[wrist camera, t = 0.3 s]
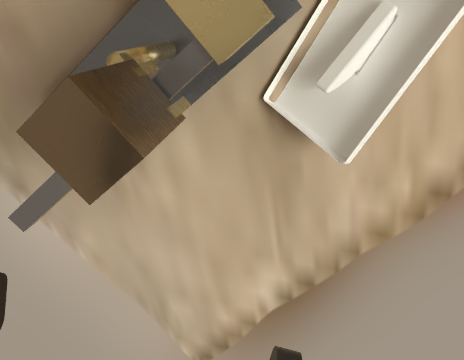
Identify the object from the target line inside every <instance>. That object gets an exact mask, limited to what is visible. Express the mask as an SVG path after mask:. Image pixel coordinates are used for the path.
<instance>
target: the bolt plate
mask: <svg viewBox="0 0 464 360" xmlns="http://www.w3.org/2000/svg"><path fill="white" fill-rule="evenodd" d="M263 1H264V3H265V4H266V5H267V7H268V8H269V9H270V11H271V12H272V13H273V15H274V16H275V17H274V18H273V19H272V20H271V21H270V22H269V23H268V24H266V25H265V26H264V27H263V28H262V29H261V30H260V31H259V32H258V33H256V34H255V35H254V36H253V37H252V38H251V39H250V40H249V41H248V42H246V43H245V44H244V45H243V46H242V47H241V48H240V49H239V50H238V51H236V52H235V53H234V54H233V55H232V56H231V57H230V58H229V59H227V60H226V61H224V62H223V63H221V64H220V65H218V64H217V63H216V61H215V60H213V61H212V62H211V63H210V64H209V65H208V66H207V67H205V68H204V69H203V70H202V71H201V72H200V73H199V74H198V75H197V76H196V77H194V78H193V79H192V80H191V81H190V82H189V83H188V84H187V85H186V86H185V87H184V88H182V89H181V90H180V91H179V92H178V93H177V94H176V95H175V96H174V97H173V98H171V99H170V101H171V102H172V103H175V102H176V101H178V100H179V99H180V98H182V97H183V96H184V97H185V98H186V100H187V101H188V102H189V103H190V104H191V105H192V104H193V103H194V102H195V101H196V100H197V99H199V98H200V97H201V96H202V95H203V94H204V93H205V92H207V91H208V90H209V89H210V88H211V87H212V86H213V85H214V84H216V83H217V82H218V81H219V80H220V79H221V78H222V77H224V76H225V75H226V74H227V73H228V72H229V71H230V70H231V69H233V68H234V67H235V66H236V65H237V64H238V63H239V62H241V61H242V60H243V59H244V58H245V57H246V56H247V55H248V54H250V53H251V52H252V51H253V50H254V49H255V48H256V47H258V46H259V45H260V44H261V43H262V42H263V41H264V40H265V39H267V38H268V37H269V36H270V35H271V34H272V33H273V32H275V31H276V30H277V29H278V28H279V27H280V26H281V25H282V24H284V23H285V22H286V21H287V20H288V19H289V18H290V17H292V16H293V15H294V14H295V13H296V12H297V11H298V10H299V9H301V8H302V7H301V5H300V4H299V3H298V1H297V0H263ZM195 38H196V37H195V36H194V35H193V33H192V32H191V31H190V30H189V29H188V27H187V26H186V25H185V24H184V22H183V21H182V20H181V19H180V18H179V16H178V15H177V14H176V13H175V12H174V10H173V9H172V8H171V7H170V6H169V4H168V3H167V2H166V1H165V0H139V1H138V2H137V3H136V4H135V5H134V6H133V7H132V8H131V10H130V11H129V12H128V13H127V14H126V15H125V16H124V17H123V18H122V19H121V20H120V21H119V22H118V24H117V25H116V26H115V27H114V28H113V29H112V30H111V31H110V32H109V33H108V34H107V35H106V37H105V38H104V39H103V40H102V41H101V42H100V43H99V44H98V45H97V46H96V47H95V48H94V49H93V51H92V52H91V53H90V54H89V55H88V56H87V57H86V58H85V59H84V60H83V61H82V62H81V63H80V65H79V66H78V67H77V68H76V69H75V70H74V71H73V72H72V73H71V74H70V75H69V76H71V75H74V74H78V73H82V72H86V71H89V70H93V69H97V68H101V67H105V66H107V64H106V61H107V57H108V56H109V55H110V54H111V53H113V52H117V51H122V50H127V49H132V48H137V47H142V46H147V45H152V44H157V43H162V42H171V43H173V44H174V46H175V48H176V54H175V56H174V57H173V58H171V59H168V60H165V61H162V62H160V63H157V64H156V65H157V66H158V67H159V68H160V69H159V70H158V71H157V72H156V73H155V74H154V75H153V76H152V77H151V79H153V78H154V77H155V76H156V75H157V74H158V73H159V72H160V71H161V70H163V69H164V68H165V67H166V66H167V65H168V64H169V63H170V62H171V61H172V60H173V59H174V58H175V57H176V56H177V55H178V54H179V53H180V52H181V51H182V50H183V49H184V48H185V47H187V46H188V45H189V44H190V43H191V42H192V41H193V40H194V39H195ZM189 107H190V106H189Z"/></svg>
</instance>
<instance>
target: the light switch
mask: <svg viewBox="0 0 464 360" xmlns="http://www.w3.org/2000/svg"><path fill="white" fill-rule="evenodd" d="M327 1H328V0H322V1H321V2H320V4H319V6H318V7H317V9H316V11H315V12H314V14H313V16H312V17H311V19H310V21H309V22H308V24H307V26H306V27H305V29H304V30H303V32H302V34H301V35H300V37H299V39H298V40H297V42H296V44H295V45H294V47H293V49H292V50H291V52H290V54H289V55H288V57H287V59H286V60H285V62H284V63H283V65H282V67H281V68H280V70H279V72H278V73H277V75H276V77H275V78H274V80H273V82H272V83H271V85H270V87H269V88H268V90H267V92H266V93H265V95H264V101H266V102H267V103H268V104H269V105H270V106H272V107H273V108H274V109H275V110H276V111H278V112H279V113H280V114H281V115H282V116H284V117H285V118H286V119H287V120H288V121H290V122H291V123H292V124H293V125H294V126H296V127H297V128H298V129H299V130H300V131H302V132H303V133H304V134H305V135H307V136H308V137H309V138H310V139H311V140H313V141H314V142H315V143H316V144H317V145H319V146H320V147H321V148H322V149H323V150H325V151H326V152H327V153H328V154H329V155H331V156H332V157H333V158H334V159H335V160H337V161H338V162H339V163H342V164H348V163H350V162H351V161H352V159H353V158H354V157H355V155H356V154H357V153H358V152H359V150H360V149H361V148H362V146H363V145H364V144H365V142H366V141H367V140H368V138H369V137H370V136H371V135H372V133H373V132H374V131H375V129H376V128H377V127H378V125H379V124H380V123H381V121H382V120H383V119H384V118H385V116H386V115H387V114H388V112H389V111H390V110H391V108H392V107H393V106H394V104H395V103H396V102H397V101H398V99H399V98H400V97H401V95H402V94H403V93H404V91H405V90H406V89H407V87H408V86H409V85H410V83H411V82H412V81H413V80H414V78H415V77H416V76H417V74H418V73H419V72H420V70H421V69H422V68H423V66H424V65H425V64H426V63H427V61H428V60H429V59H430V57H431V56H432V55H433V53H434V52H435V51H436V49H437V48H438V47H439V46H440V44H441V43H442V42H443V40H444V39H445V38H446V36H447V35H448V34H449V32H450V31H451V30H452V29H453V27H454V26H455V25H456V23H457V22H458V21H459V19H460V18H461V17H462V15H463V14H464V0H340V1H339V2H338V4H337V5H336V7H335V9H334V10H333V12H332V13H331V15H330V17H329V18H328V20H327V21H326V23H325V25H324V26H323V28H322V29H321V31H320V32H319V34H318V36H317V37H316V39H315V40H314V42H313V44H312V45H311V47H310V48H309V50H308V52H307V53H306V55H305V56H304V58H303V60H302V61H301V63H300V64H299V66H298V68H297V69H296V71H295V72H294V74H293V76H292V77H291V79H290V80H289V82H288V83H287V85H286V87H285V88H284V90H283V91H282V93H281V95H280V96H279V98H278V99H277V101H276V102H274V103H273V102H271V101H269V96H270V95H271V93H272V91H273V90H274V88H275V86H276V85H277V83H278V81H279V80H280V78H281V77H282V75H283V73H284V72H285V70H286V68H287V67H288V65H289V63H290V62H291V60H292V59H293V57H294V55H295V54H296V52H297V50H298V49H299V47H300V45H301V44H302V42H303V41H304V39H305V37H306V36H307V34H308V32H309V31H310V29H311V27H312V26H313V24H314V23H315V21H316V19H317V18H318V16H319V14H320V13H321V11H322V9H323V8H324V6H325V5H326V3H327ZM394 17H395V18H394ZM393 18H394V20H393ZM392 20H393V21H392Z"/></svg>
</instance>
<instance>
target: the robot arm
mask: <svg viewBox="0 0 464 360" xmlns="http://www.w3.org/2000/svg"><path fill="white" fill-rule="evenodd" d="M6 292H7V276H6V274H4V273H0V329H1V327H2V324H3V321H4V316H5V303H6ZM270 360H302V356H301V353H300V352H296V351H293V350H289V349H285V348H281V347H277V346H275V347H274V349H273V351H272V354H271V357H270Z"/></svg>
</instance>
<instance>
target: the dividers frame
mask: <svg viewBox="0 0 464 360" xmlns="http://www.w3.org/2000/svg"><path fill="white" fill-rule="evenodd" d="M165 1H166V2H167V3H168V4H169V6H170V7H171V8H172V9H173V10H174V12H175V13H176V14H177V15H178V16H179V18H180V19H181V20H182V21H183V22H184V24H185V25H186V26H187V27H188V29H189V30H190V31H191V32H192V33H193V35H194V36H195V37H196V38H195V39H194V40H193V41H192V42H191V43H190V44H189V45H188V46H187V47H185V48H184V49H183V50H182V51H181V52H180V53H179V54H178V55H177V56H176V57H175V58H174V59H173V60H172V61H171V62H170V63H169V64H168V65H167V66H166V67H165V68H164V69H163V70H161V71H160V72H159V73H158V74H157V75H156V76H155V77H154V78H153V79H152V80H153V81H154V83H155V84H156V85H157V86H158V87H159V88H160V89H161V91H162V92H163V93H164V94H165V95H166V96H167V97H168V99H169V100H170V99H171V98H173V97H174V96H175V95H176V94H177V93H178V92H179V91H180V90H181V89H182V88H184V87H185V86H186V85H187V84H188V83H189V82H190V81H191V80H192V79H193V78H194V77H196V76H197V75H198V74H199V73H200V72H201V71H202V70H203V69H204V68H205V67H207V66H208V65H209V64H210V63H211V62H212V61H213V60H215V61H216V63H217V64H218V65H220V64H221V63H223V62H224V61H226V60H227V59H229V58H230V57H231V56H232V55H233V54H234V53H235V52H236V51H238V50H239V49H240V48H241V47H242V46H243V45H244V44H245V43H246V42H248V41H249V40H250V39H251V38H252V37H253V36H254V35H255V34H256V33H258V32H259V31H260V30H261V29H262V28H263V27H264V26H265V25H266V24H268V23H269V22H270V21H271V20H272V19H273V18H274V17H275V16H274V15H273V13H272V12H271V11H270V9H269V8H268V7H267V5H266V4H265V3H264V1H263V0H165ZM72 189H73V188H72V187H71V186H70V185H69V184H68V183H67V182H66V181H65V180H64V179H63V178H62V177H61V176H60V175H59V174H58V173H57V172H55V173H54V174H53V175H52V176H51V177H50V178H49V179H48V180H47V181H46V182H45V183H44V184H43V185H42V186H41V187H39V188H38V189H37V190H36V191H35V192H34V193H33V194H32V195H31V196H30V197H29V198H28V199H27V200H26V201H25V202H24V203H23V204H22V205H21V206H20V207H19V208H18V209H17V210H16V211H14V213H12V214H11V215H10V216H9V217H8V218H9V219H10V220H11V221H12V222H14V223H15V224H16V225H17V226H18V227H19V228H20V229H21V230H22V231H23V232H24V231H25V230H27V229H28V228H29V227H30V226H32V225H33V224H34V223H35V222H37V221H38V220H39V219H40V218H41V217H42V216H43V215H44V214H45V213H46V212H48V211H49V210H50V209H51V208H52V207H53V206H54V205H55V204H56V203H57V202H59V201H60V200H61V199H62V198H63V197H64V196H65V195H66V194H67V193H68V192H69V191H71V190H72Z"/></svg>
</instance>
